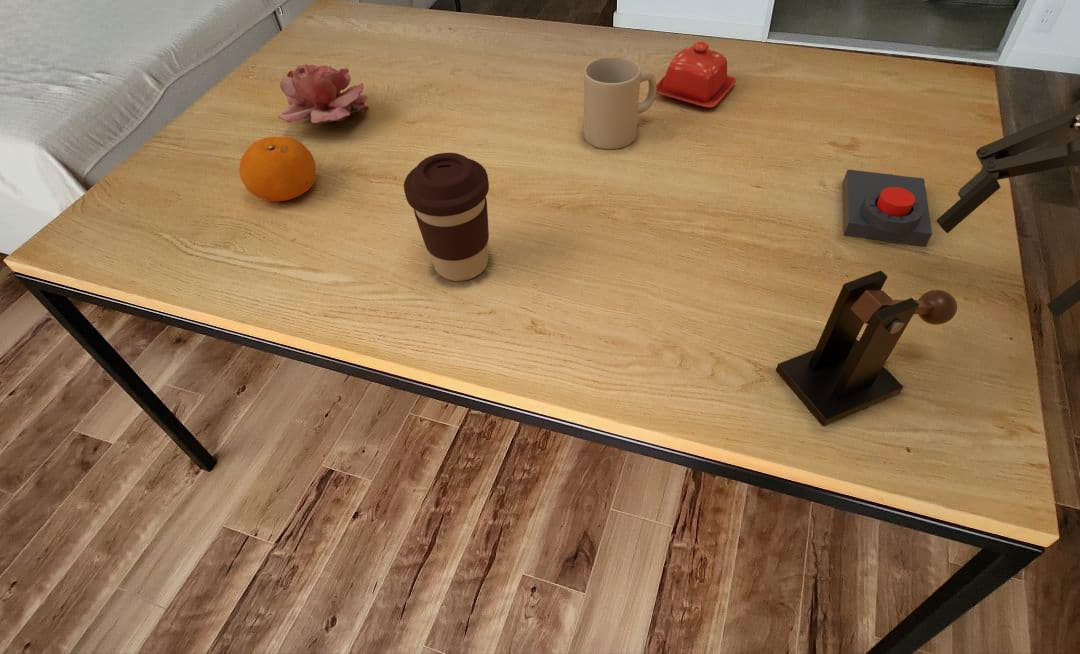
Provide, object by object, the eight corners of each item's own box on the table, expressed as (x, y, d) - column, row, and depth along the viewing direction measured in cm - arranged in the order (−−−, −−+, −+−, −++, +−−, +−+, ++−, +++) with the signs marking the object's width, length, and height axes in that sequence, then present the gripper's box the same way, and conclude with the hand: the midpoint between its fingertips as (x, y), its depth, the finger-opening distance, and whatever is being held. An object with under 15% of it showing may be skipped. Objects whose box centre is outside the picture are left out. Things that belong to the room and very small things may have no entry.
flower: (355, 133, 102) (336, 67, 97) (273, 142, 105) (250, 79, 100) (388, 109, 114) (373, 50, 109) (314, 118, 117) (296, 61, 112)
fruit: (304, 215, 94) (285, 169, 88) (239, 208, 95) (216, 163, 89) (333, 172, 100) (317, 127, 94) (272, 167, 102) (252, 122, 96)
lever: (920, 308, 70) (944, 283, 68) (946, 331, 67) (972, 305, 65) (840, 308, 62) (864, 279, 60) (866, 334, 60) (892, 305, 58)
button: (911, 219, 81) (916, 208, 80) (877, 214, 82) (881, 203, 81) (908, 200, 84) (913, 189, 82) (875, 195, 85) (880, 185, 83)
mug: (598, 155, 100) (599, 89, 92) (574, 129, 105) (574, 64, 97) (665, 135, 103) (672, 69, 94) (639, 110, 108) (643, 46, 100)
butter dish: (738, 84, 112) (748, 35, 105) (711, 115, 106) (719, 66, 99) (678, 69, 116) (683, 21, 110) (648, 98, 110) (652, 50, 104)
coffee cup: (474, 299, 81) (457, 203, 70) (409, 276, 84) (383, 182, 73) (512, 250, 86) (501, 155, 75) (449, 231, 90) (430, 137, 78)
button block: (926, 251, 82) (939, 227, 79) (843, 239, 85) (853, 216, 82) (918, 191, 90) (929, 167, 87) (842, 181, 93) (851, 158, 90)
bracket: (848, 341, 73) (892, 251, 63) (900, 393, 69) (956, 305, 58) (775, 370, 71) (808, 282, 61) (822, 426, 66) (867, 341, 56)
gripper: (1362, 187, 52) (1110, 362, 60) (1082, 56, 67) (912, 209, 75) (1381, 147, 47) (1104, 344, 55) (1074, 15, 62) (893, 184, 70)
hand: (992, 266), depth 65 cm, fingers open, 13 cm apart
